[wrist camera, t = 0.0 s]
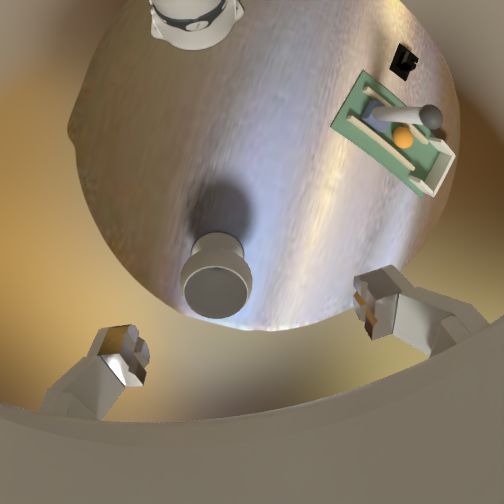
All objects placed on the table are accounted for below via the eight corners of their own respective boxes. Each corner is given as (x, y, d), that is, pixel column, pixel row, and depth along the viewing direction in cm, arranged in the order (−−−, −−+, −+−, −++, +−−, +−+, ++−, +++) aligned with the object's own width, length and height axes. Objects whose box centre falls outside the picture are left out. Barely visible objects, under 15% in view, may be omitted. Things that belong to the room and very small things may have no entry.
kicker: (358, 117, 49) (425, 121, 29) (368, 99, 47) (437, 97, 27) (377, 131, 50) (446, 144, 30) (386, 114, 49) (456, 120, 29)
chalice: (189, 223, 58) (178, 256, 44) (253, 231, 60) (261, 265, 47) (185, 278, 64) (176, 319, 50) (242, 284, 66) (247, 326, 53)
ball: (387, 126, 50) (399, 128, 46) (404, 125, 50) (416, 127, 46) (389, 147, 53) (401, 150, 48) (406, 146, 53) (418, 149, 48)
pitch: (330, 127, 51) (330, 127, 50) (362, 71, 45) (363, 70, 44) (420, 197, 59) (421, 198, 59) (446, 149, 54) (447, 149, 53)
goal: (341, 126, 50) (351, 127, 46) (367, 80, 46) (379, 78, 41) (422, 191, 58) (433, 197, 54) (443, 151, 53) (455, 155, 49)
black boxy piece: (404, 89, 47) (416, 88, 43) (381, 71, 45) (392, 69, 41) (418, 53, 42) (429, 51, 38) (396, 36, 41) (406, 32, 37)
